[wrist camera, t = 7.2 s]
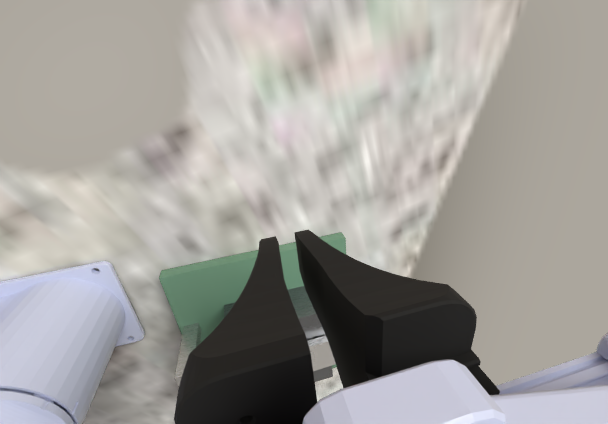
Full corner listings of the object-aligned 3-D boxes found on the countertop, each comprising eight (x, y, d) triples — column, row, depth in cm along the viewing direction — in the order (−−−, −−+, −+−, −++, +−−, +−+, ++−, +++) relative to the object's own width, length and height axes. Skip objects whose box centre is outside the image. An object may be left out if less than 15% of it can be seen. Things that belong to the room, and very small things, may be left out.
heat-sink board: (210, 394, 30) (206, 460, 25) (161, 270, 23) (142, 326, 18) (347, 355, 32) (369, 407, 27) (341, 232, 25) (370, 271, 20)
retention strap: (194, 398, 23) (193, 411, 22) (183, 374, 22) (181, 387, 21) (351, 350, 25) (356, 360, 25) (350, 325, 24) (355, 335, 23)
